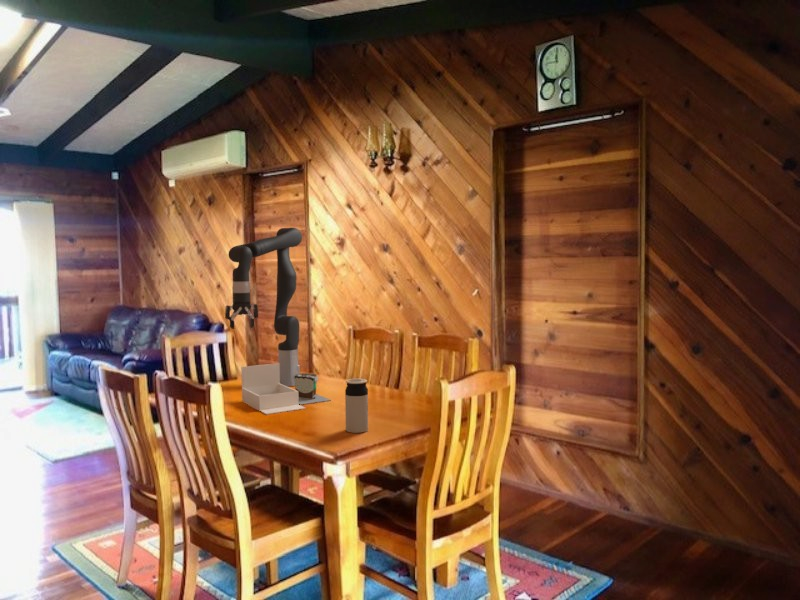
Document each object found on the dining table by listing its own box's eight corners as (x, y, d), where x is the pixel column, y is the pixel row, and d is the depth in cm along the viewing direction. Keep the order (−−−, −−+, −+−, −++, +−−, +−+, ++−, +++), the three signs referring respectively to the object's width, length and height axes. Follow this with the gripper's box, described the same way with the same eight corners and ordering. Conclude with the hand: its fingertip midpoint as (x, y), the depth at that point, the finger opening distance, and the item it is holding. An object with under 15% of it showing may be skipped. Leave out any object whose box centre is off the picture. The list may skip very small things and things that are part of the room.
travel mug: (344, 433, 225) (344, 382, 224) (346, 427, 233) (346, 378, 232) (367, 433, 225) (367, 382, 224) (368, 427, 233) (368, 378, 232)
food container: (324, 397, 281) (324, 374, 281) (315, 400, 276) (315, 376, 275) (302, 394, 288) (302, 371, 287) (293, 396, 283) (293, 374, 282)
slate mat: (310, 392, 293) (310, 391, 293) (330, 400, 276) (330, 399, 276) (281, 396, 285) (281, 395, 285) (300, 405, 268) (300, 404, 268)
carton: (279, 396, 285) (278, 363, 284) (305, 408, 262) (305, 372, 261) (242, 401, 275) (241, 367, 274) (266, 414, 253) (265, 376, 252)
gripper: (253, 290, 292) (254, 326, 293) (222, 291, 284) (223, 328, 285) (259, 291, 285) (260, 327, 287) (228, 292, 278) (229, 330, 279)
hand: (242, 328), depth 286 cm, fingers open, 8 cm apart
